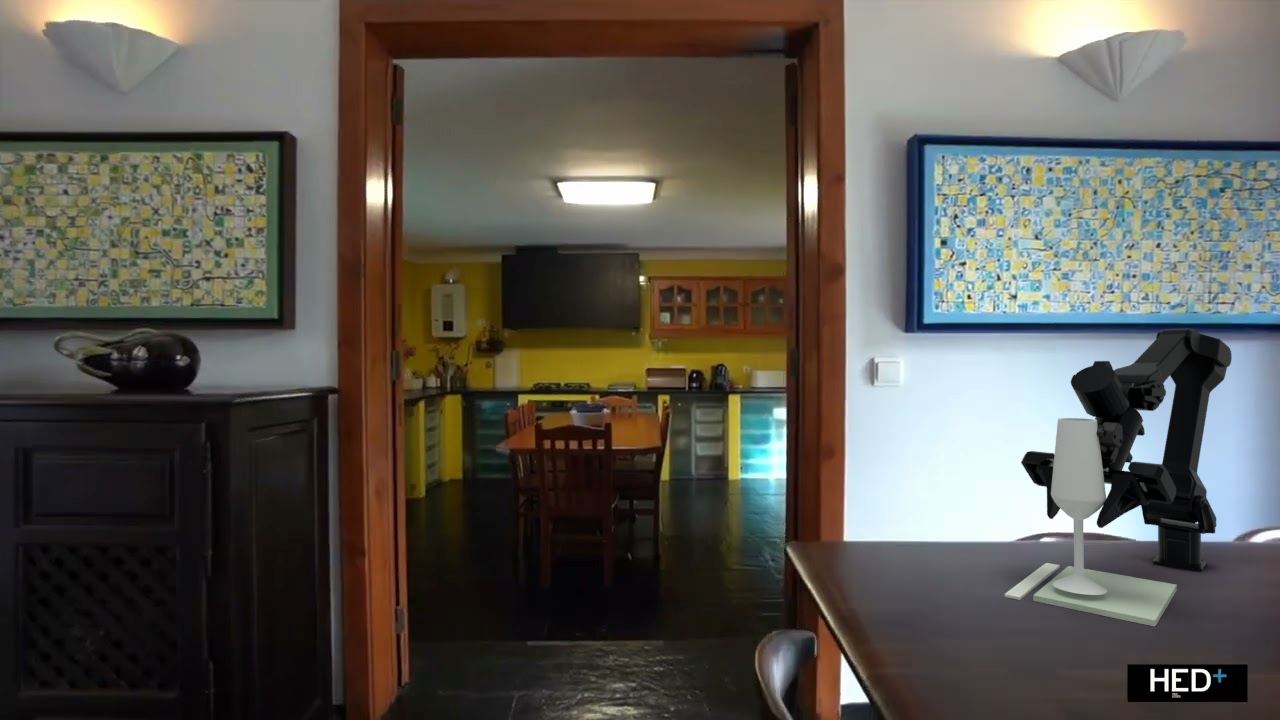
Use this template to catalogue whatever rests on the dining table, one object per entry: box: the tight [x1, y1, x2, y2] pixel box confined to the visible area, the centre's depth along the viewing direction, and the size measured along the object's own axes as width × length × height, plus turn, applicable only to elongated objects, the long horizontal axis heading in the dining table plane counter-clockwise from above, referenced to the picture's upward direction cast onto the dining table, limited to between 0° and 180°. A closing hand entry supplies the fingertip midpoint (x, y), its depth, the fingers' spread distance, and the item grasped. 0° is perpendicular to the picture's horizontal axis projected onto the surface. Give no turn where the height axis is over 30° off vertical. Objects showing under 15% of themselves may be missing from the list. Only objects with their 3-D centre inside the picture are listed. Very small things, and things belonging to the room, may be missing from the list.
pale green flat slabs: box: [1003, 562, 1178, 628], centre depth 102 cm, size 22×18×1 cm
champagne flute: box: [1051, 417, 1107, 595], centre depth 99 cm, size 7×7×24 cm
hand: (1073, 521), depth 98 cm, fingers closed on champagne flute, 6 cm apart
